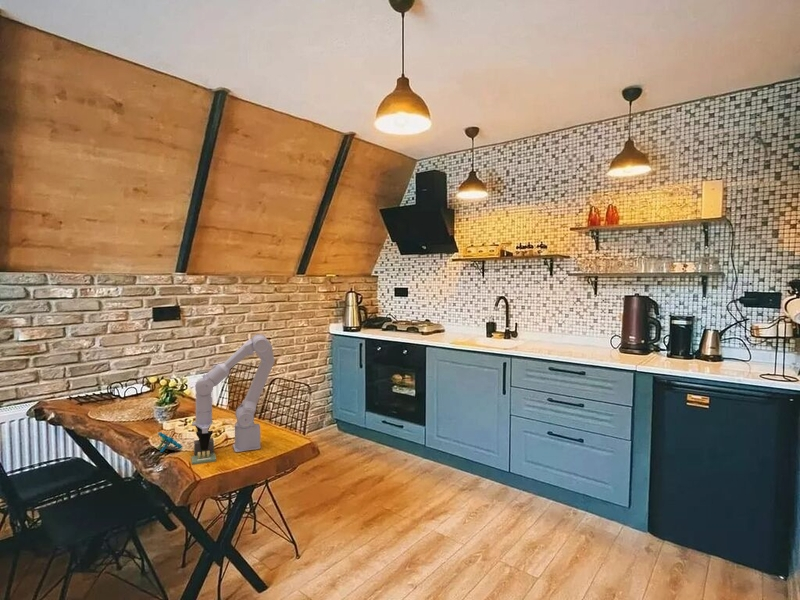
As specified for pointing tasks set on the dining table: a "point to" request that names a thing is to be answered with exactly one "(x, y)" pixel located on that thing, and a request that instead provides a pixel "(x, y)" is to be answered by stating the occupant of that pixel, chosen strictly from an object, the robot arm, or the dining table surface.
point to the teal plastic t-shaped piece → (167, 442)
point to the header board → (203, 458)
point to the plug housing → (198, 448)
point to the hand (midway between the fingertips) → (203, 445)
